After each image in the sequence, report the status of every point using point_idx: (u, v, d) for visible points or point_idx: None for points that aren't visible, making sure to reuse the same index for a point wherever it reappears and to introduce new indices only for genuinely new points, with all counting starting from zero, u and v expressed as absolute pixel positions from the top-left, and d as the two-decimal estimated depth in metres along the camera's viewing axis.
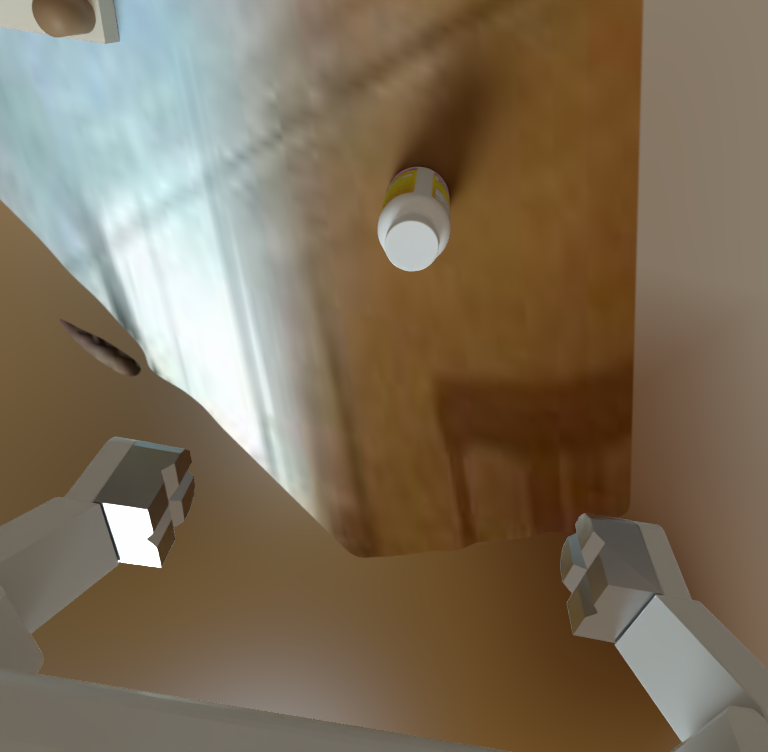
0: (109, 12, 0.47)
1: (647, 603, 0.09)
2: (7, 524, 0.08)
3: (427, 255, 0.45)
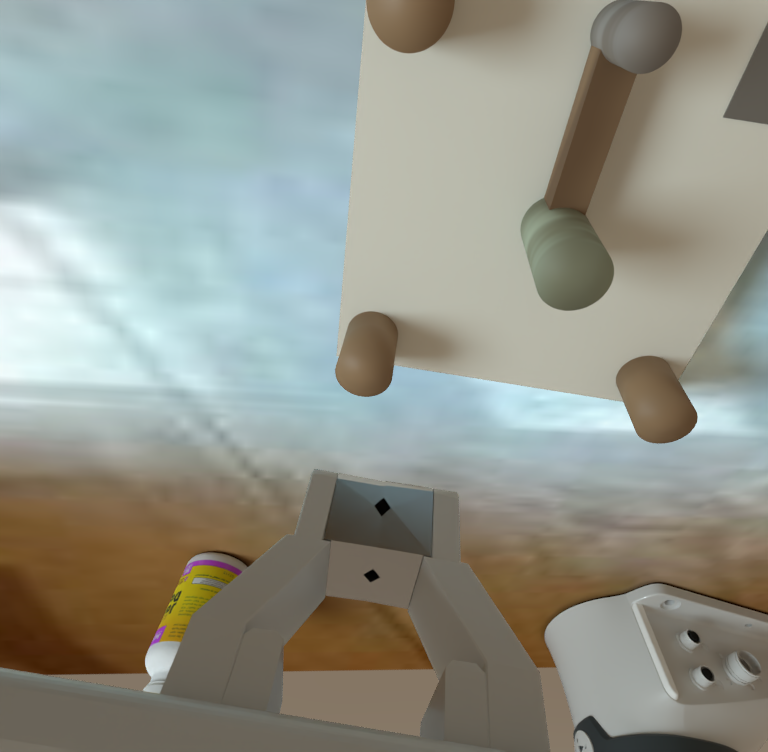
0: None
1: (419, 566, 0.09)
2: (254, 564, 0.08)
3: None
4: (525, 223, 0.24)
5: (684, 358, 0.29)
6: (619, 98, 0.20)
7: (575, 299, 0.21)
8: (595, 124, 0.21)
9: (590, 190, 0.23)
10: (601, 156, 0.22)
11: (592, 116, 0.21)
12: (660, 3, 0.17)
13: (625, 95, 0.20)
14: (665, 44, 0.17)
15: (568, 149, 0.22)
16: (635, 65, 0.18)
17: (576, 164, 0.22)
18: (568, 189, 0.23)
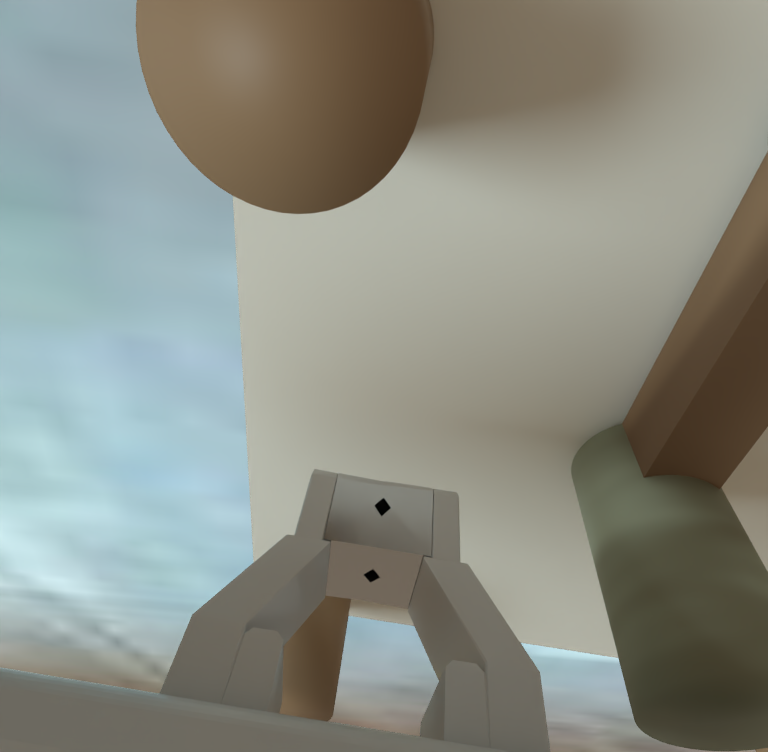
0: None
1: (419, 566, 0.09)
2: (254, 565, 0.08)
3: None
4: (585, 475, 0.12)
5: None
6: None
7: (725, 739, 0.09)
8: None
9: (739, 450, 0.10)
10: None
11: None
12: None
13: None
14: None
15: (702, 379, 0.09)
16: None
17: (716, 407, 0.10)
18: (690, 447, 0.10)
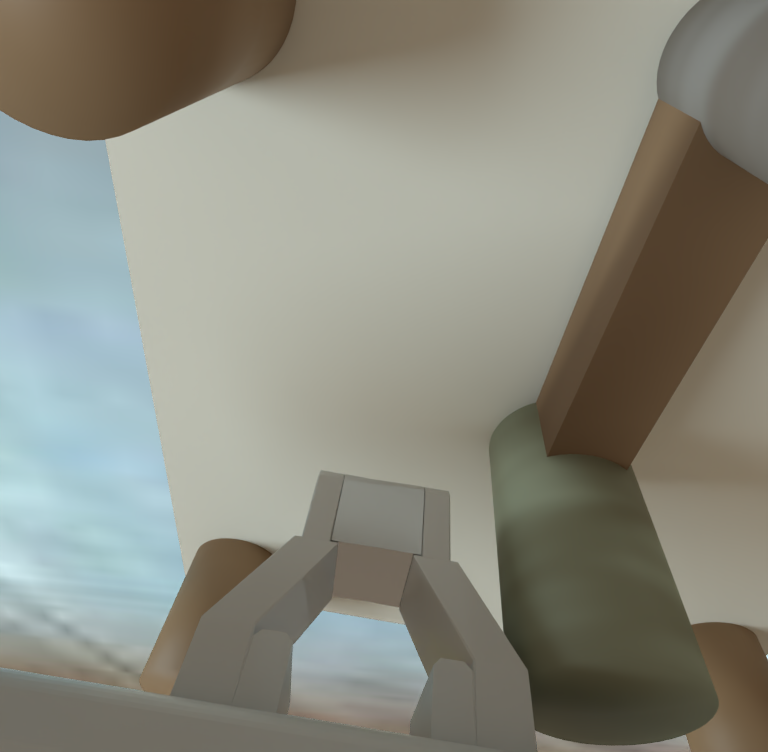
0: None
1: (410, 564, 0.09)
2: (263, 566, 0.08)
3: None
4: (496, 456, 0.12)
5: None
6: (738, 247, 0.07)
7: (610, 733, 0.09)
8: (667, 303, 0.08)
9: (642, 428, 0.10)
10: (675, 368, 0.09)
11: (660, 285, 0.08)
12: None
13: (756, 240, 0.07)
14: None
15: (594, 349, 0.09)
16: None
17: (612, 380, 0.09)
18: (591, 424, 0.10)
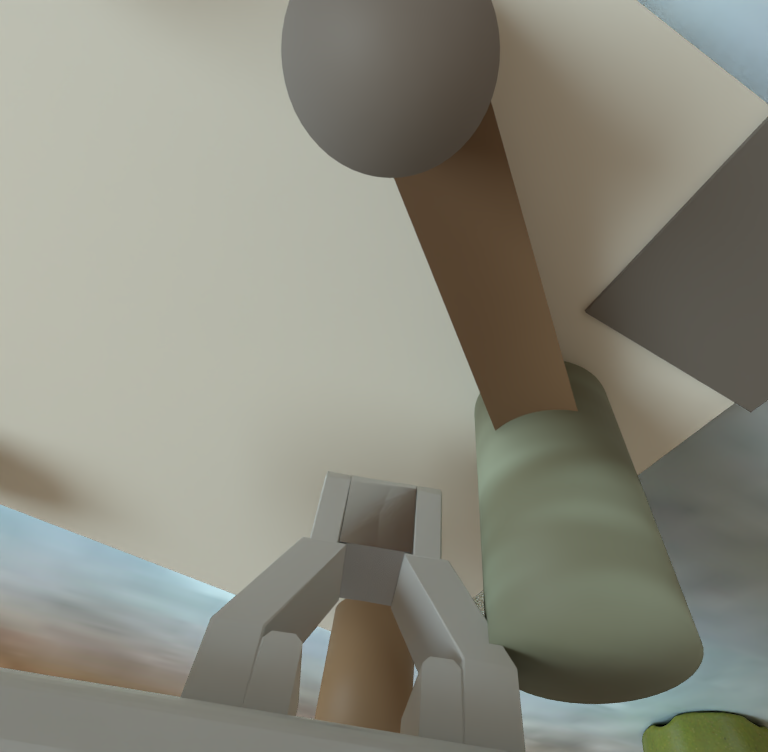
0: None
1: (400, 563, 0.09)
2: (271, 567, 0.08)
3: None
4: None
5: None
6: (489, 184, 0.08)
7: (627, 685, 0.08)
8: (474, 258, 0.08)
9: (556, 368, 0.09)
10: (534, 304, 0.09)
11: (455, 248, 0.08)
12: None
13: (499, 170, 0.07)
14: (451, 44, 0.05)
15: (453, 324, 0.09)
16: (407, 153, 0.05)
17: (489, 341, 0.09)
18: (506, 386, 0.10)
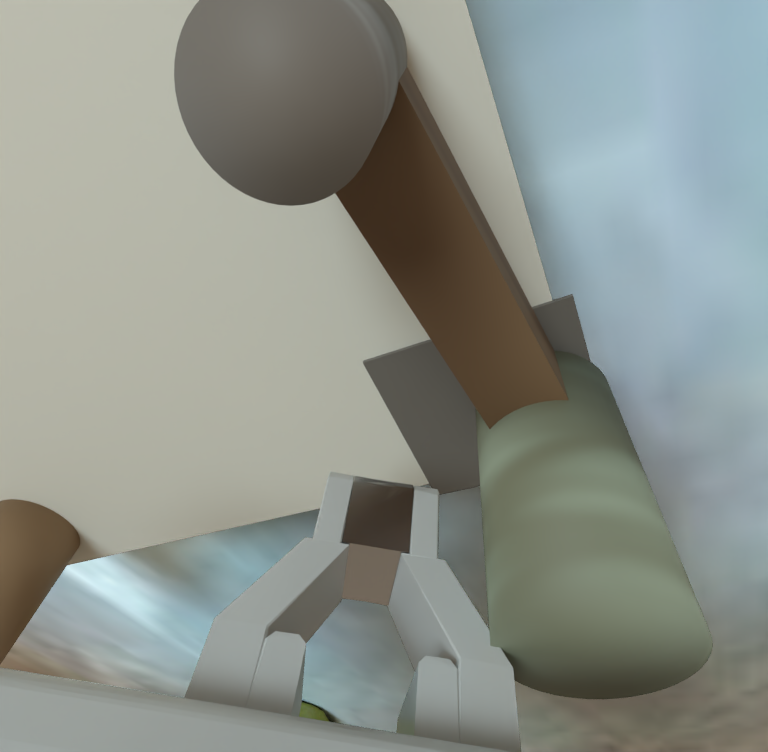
0: None
1: (397, 562, 0.09)
2: (274, 568, 0.08)
3: None
4: None
5: (104, 549, 0.18)
6: (431, 190, 0.08)
7: (642, 676, 0.08)
8: (432, 263, 0.08)
9: (537, 360, 0.09)
10: (500, 300, 0.09)
11: (411, 256, 0.08)
12: (206, 0, 0.05)
13: (438, 175, 0.08)
14: (329, 73, 0.05)
15: (426, 330, 0.09)
16: (313, 179, 0.05)
17: (465, 342, 0.09)
18: (491, 384, 0.10)
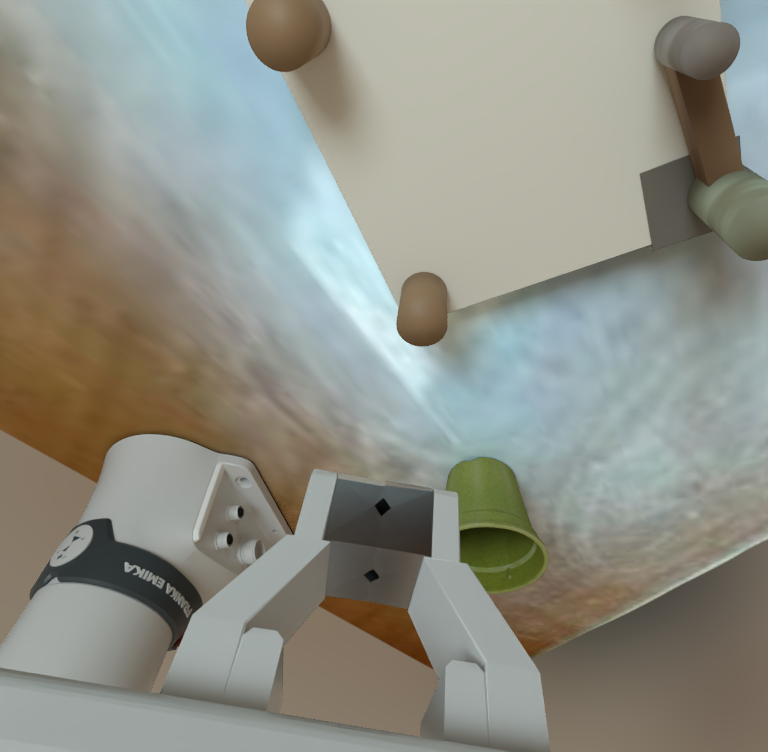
0: None
1: (419, 566, 0.09)
2: (254, 564, 0.08)
3: None
4: (693, 205, 0.28)
5: (456, 305, 0.34)
6: (713, 84, 0.24)
7: None
8: (706, 112, 0.24)
9: (735, 152, 0.25)
10: (727, 126, 0.25)
11: (699, 109, 0.24)
12: (704, 28, 0.21)
13: (717, 79, 0.24)
14: (728, 44, 0.21)
15: (695, 141, 0.25)
16: (713, 72, 0.21)
17: (709, 145, 0.25)
18: (715, 164, 0.26)
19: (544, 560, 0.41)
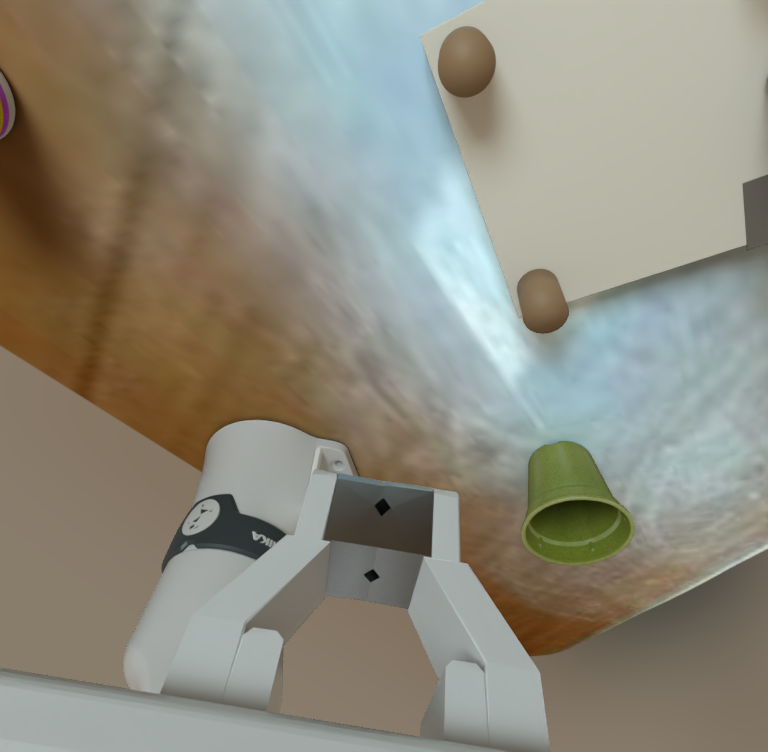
0: None
1: (419, 566, 0.09)
2: (254, 564, 0.08)
3: None
4: None
5: (565, 298, 0.39)
6: None
7: None
8: None
9: None
10: None
11: None
12: None
13: None
14: None
15: None
16: None
17: None
18: None
19: (630, 532, 0.45)
